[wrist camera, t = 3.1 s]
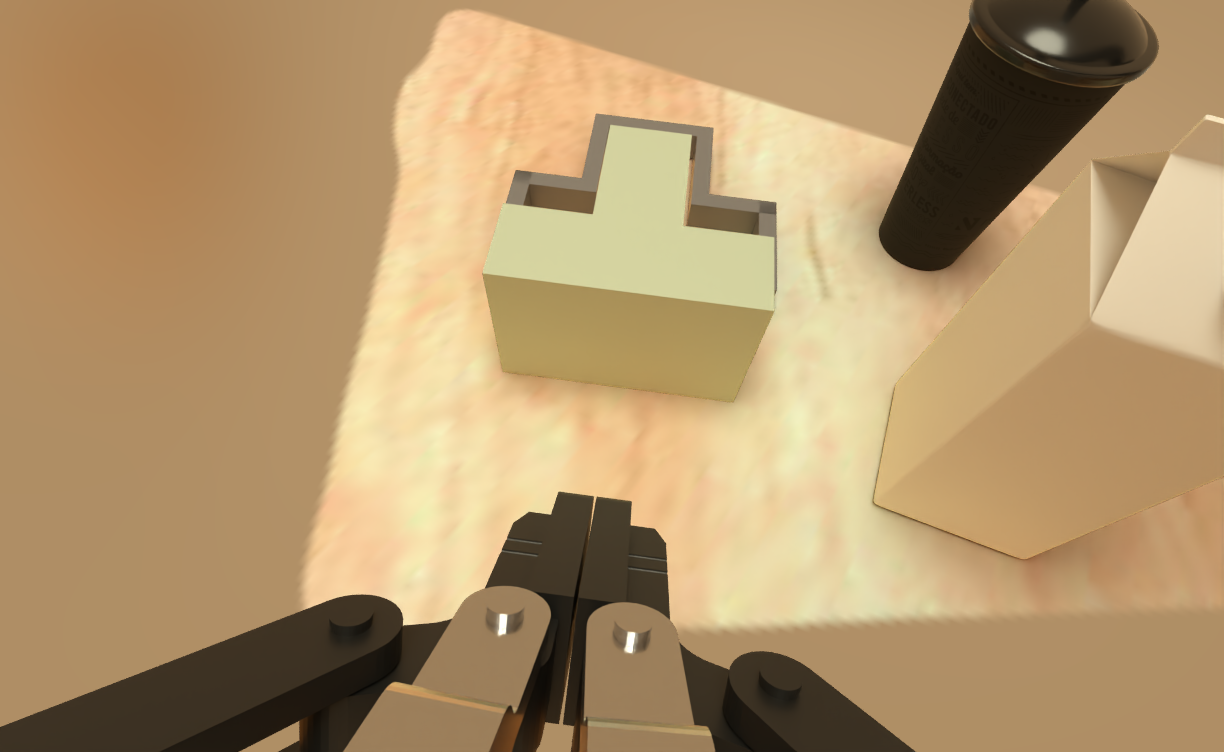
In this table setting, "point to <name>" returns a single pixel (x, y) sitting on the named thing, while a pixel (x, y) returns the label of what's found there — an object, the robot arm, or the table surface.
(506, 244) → the t block
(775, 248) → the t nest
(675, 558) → the table surface
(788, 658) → the robot arm
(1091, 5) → the drinking cup
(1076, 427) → the milk carton
